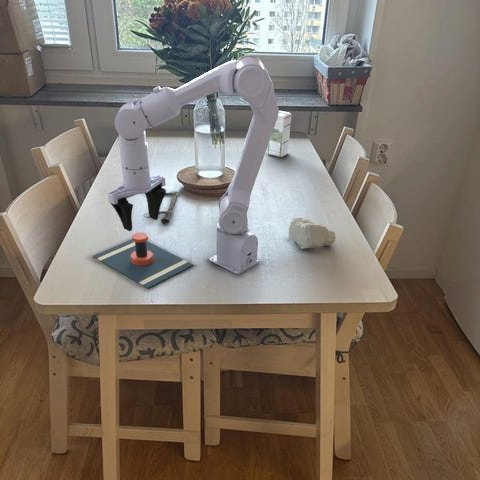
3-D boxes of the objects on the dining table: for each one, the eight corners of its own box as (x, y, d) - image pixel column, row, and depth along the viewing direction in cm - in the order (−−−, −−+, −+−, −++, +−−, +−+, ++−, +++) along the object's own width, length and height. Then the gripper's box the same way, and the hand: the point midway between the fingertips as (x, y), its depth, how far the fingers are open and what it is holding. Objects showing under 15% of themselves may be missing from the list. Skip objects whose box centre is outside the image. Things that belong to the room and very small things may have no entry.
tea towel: (193, 265, 120) (193, 264, 120) (147, 289, 111) (147, 287, 111) (138, 237, 130) (138, 236, 130) (92, 257, 121) (92, 255, 121)
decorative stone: (342, 240, 129) (331, 218, 121) (317, 266, 129) (304, 245, 121) (313, 220, 135) (301, 198, 127) (290, 245, 135) (276, 224, 127)
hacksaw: (168, 225, 136) (168, 220, 135) (130, 224, 136) (129, 218, 135) (179, 190, 155) (179, 185, 154) (146, 188, 155) (145, 184, 154)
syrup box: (288, 153, 185) (292, 112, 177) (280, 158, 181) (284, 116, 173) (274, 150, 188) (277, 109, 179) (266, 154, 184) (269, 113, 175)
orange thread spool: (157, 260, 121) (156, 235, 117) (140, 268, 117) (138, 243, 114) (143, 252, 123) (141, 228, 119) (126, 260, 120) (123, 236, 116)
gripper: (148, 152, 114) (153, 208, 122) (95, 169, 105) (104, 228, 113) (170, 160, 110) (173, 217, 118) (117, 178, 101) (124, 239, 109)
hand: (141, 223), depth 115 cm, fingers open, 7 cm apart
